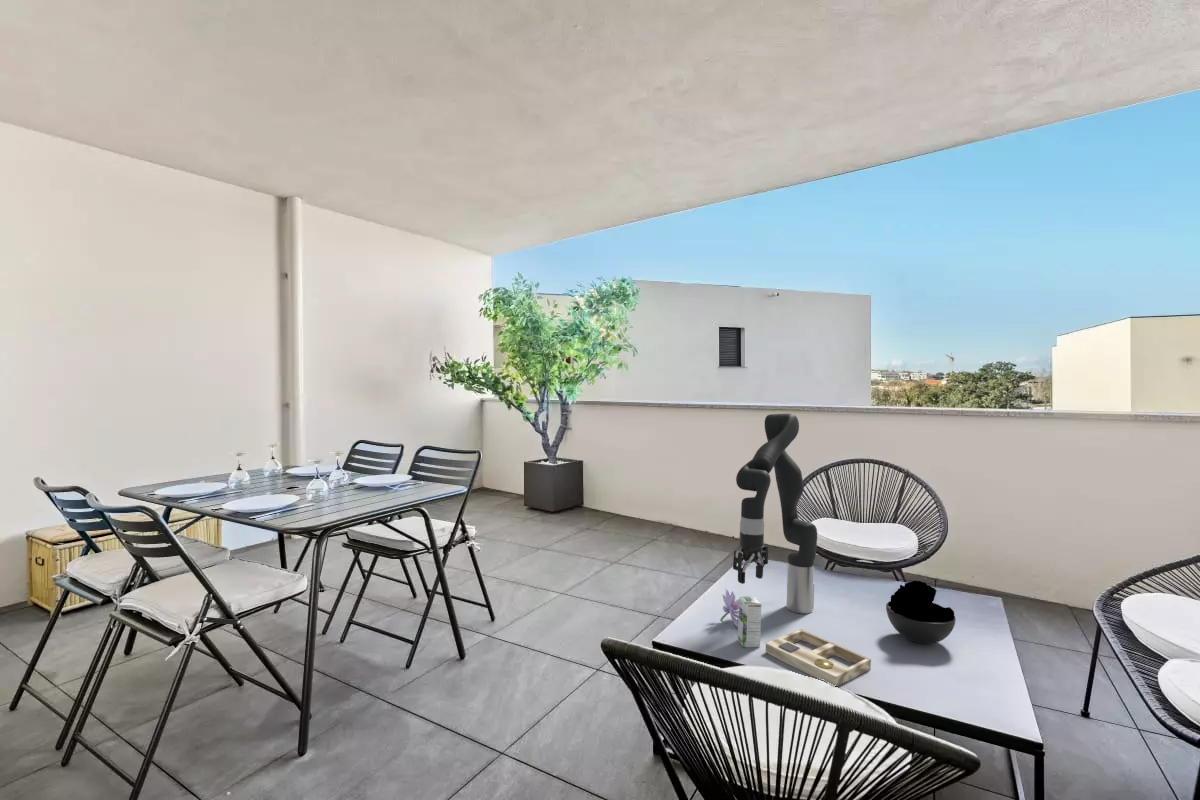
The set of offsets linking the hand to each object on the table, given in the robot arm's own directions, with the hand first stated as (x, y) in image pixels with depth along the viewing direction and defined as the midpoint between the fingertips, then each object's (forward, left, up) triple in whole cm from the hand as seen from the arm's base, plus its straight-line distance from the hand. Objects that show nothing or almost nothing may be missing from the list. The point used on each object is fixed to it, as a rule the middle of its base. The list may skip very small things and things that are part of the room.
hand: (750, 580), depth 182 cm
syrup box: (0, 0, -21) cm, 21 cm away
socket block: (-9, +19, -21) cm, 29 cm away
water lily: (-8, -13, -21) cm, 26 cm away
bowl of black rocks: (-49, +30, -21) cm, 61 cm away
